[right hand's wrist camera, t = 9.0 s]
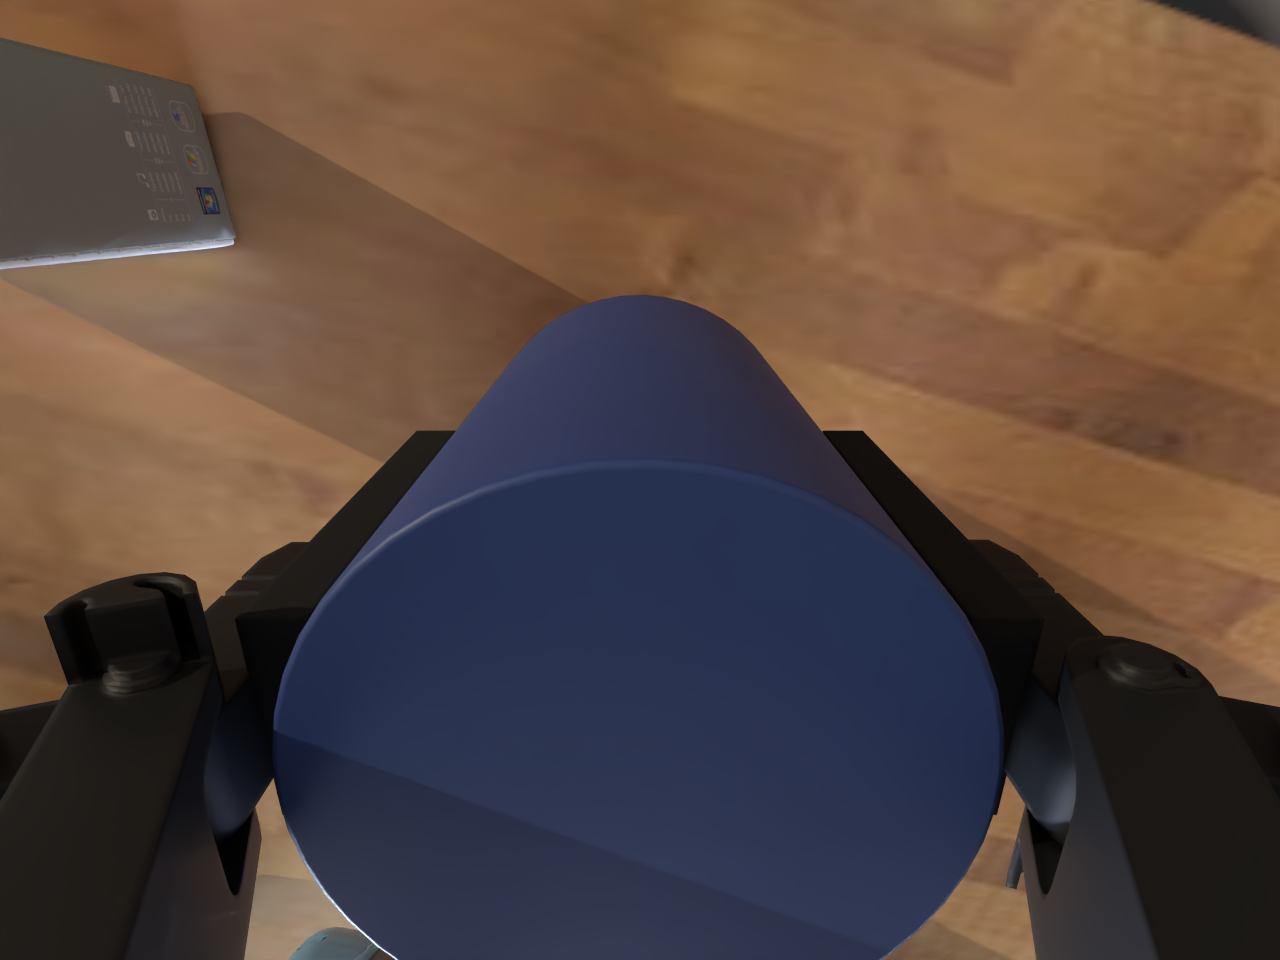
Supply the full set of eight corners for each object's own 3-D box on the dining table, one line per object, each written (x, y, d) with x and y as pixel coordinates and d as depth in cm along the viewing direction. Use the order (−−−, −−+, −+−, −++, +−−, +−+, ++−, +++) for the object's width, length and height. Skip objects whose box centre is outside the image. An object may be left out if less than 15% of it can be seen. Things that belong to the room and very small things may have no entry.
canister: (849, 399, 16) (1171, 704, 6) (684, 623, 18) (733, 1105, 9) (584, 230, 15) (475, 287, 5) (439, 493, 17) (167, 888, 7)
